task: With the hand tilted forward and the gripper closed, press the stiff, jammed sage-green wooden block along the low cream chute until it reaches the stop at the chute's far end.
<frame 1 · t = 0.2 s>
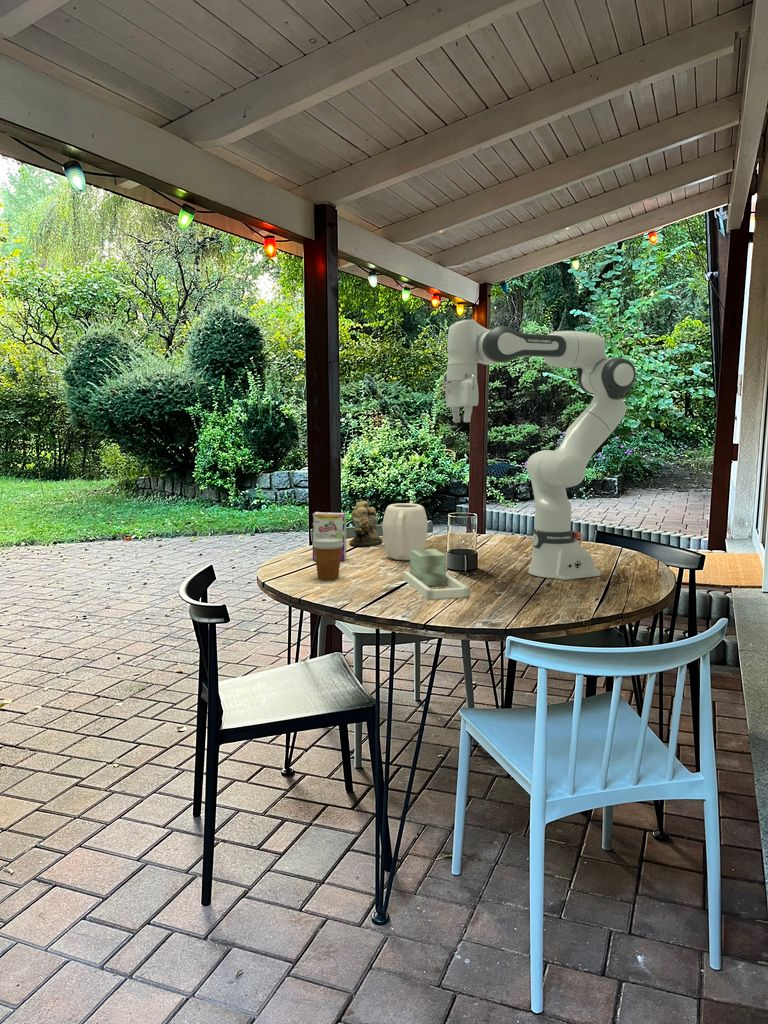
hand: (461, 422, 215), 48 cm above the table, tool pointing down, fingers open, 8 cm apart
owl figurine: (365, 544, 280), on the table
disposable coffee cup: (328, 578, 222), on the table
sage block: (427, 567, 215), point 5 cm above the table, slide at 0.0 cm
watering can: (405, 557, 254), on the table
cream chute: (433, 587, 210), on the table
candy bar box: (329, 560, 249), on the table
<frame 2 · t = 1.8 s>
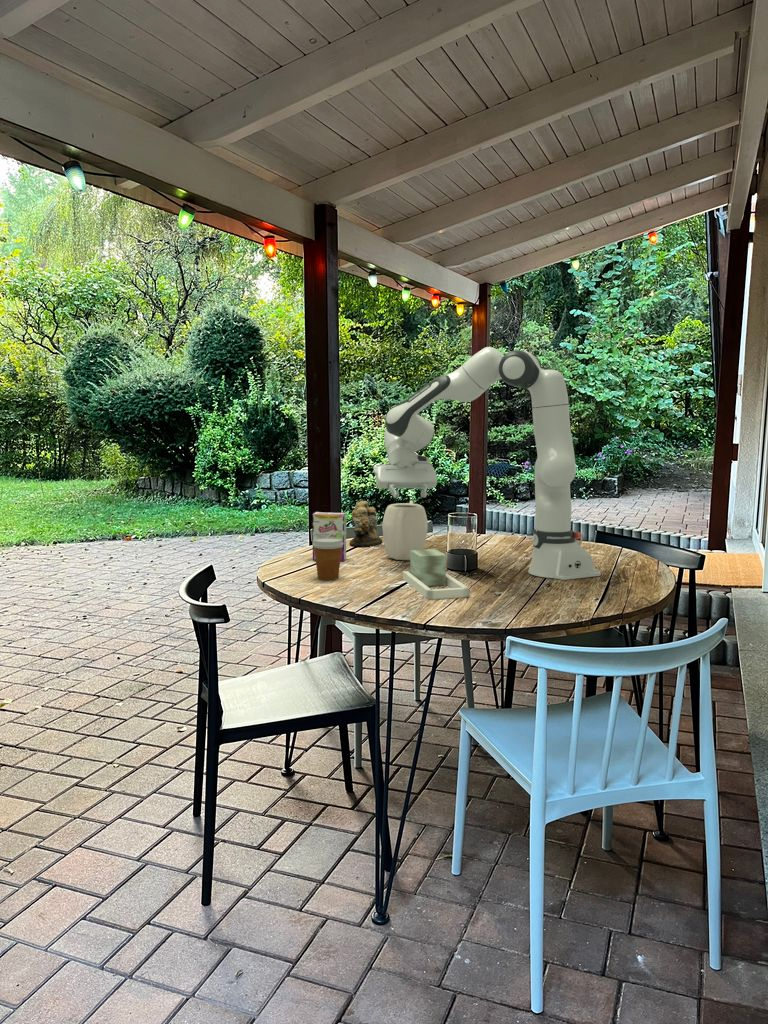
hand: (410, 496, 231), 24 cm above the table, tool tilted 45°, fingers open, 8 cm apart
nothing on the table moved.
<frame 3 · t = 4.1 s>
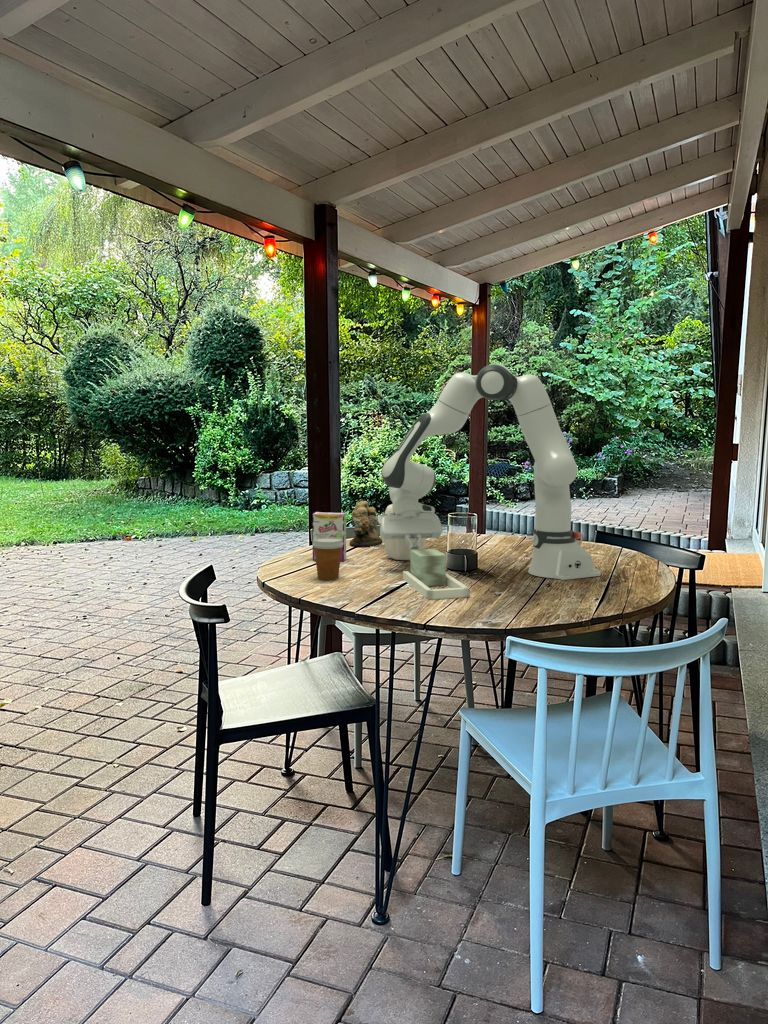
hand: (415, 548, 228), 8 cm above the table, tool tilted 45°, fingers closed
nothing on the table moved.
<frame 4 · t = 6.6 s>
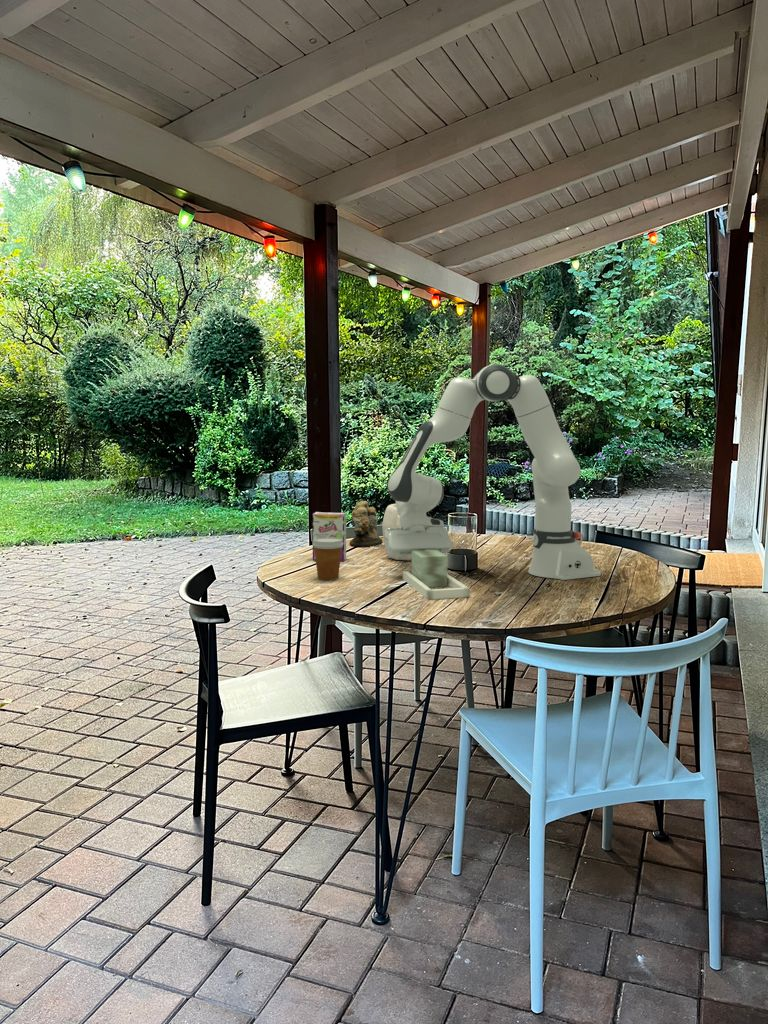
hand: (423, 564, 219), 5 cm above the table, tool tilted 45°, fingers closed, pressing on sage block
sage block: (429, 568, 214), point 5 cm above the table, slide at 1.3 cm, touching gripper
everything else where it was.
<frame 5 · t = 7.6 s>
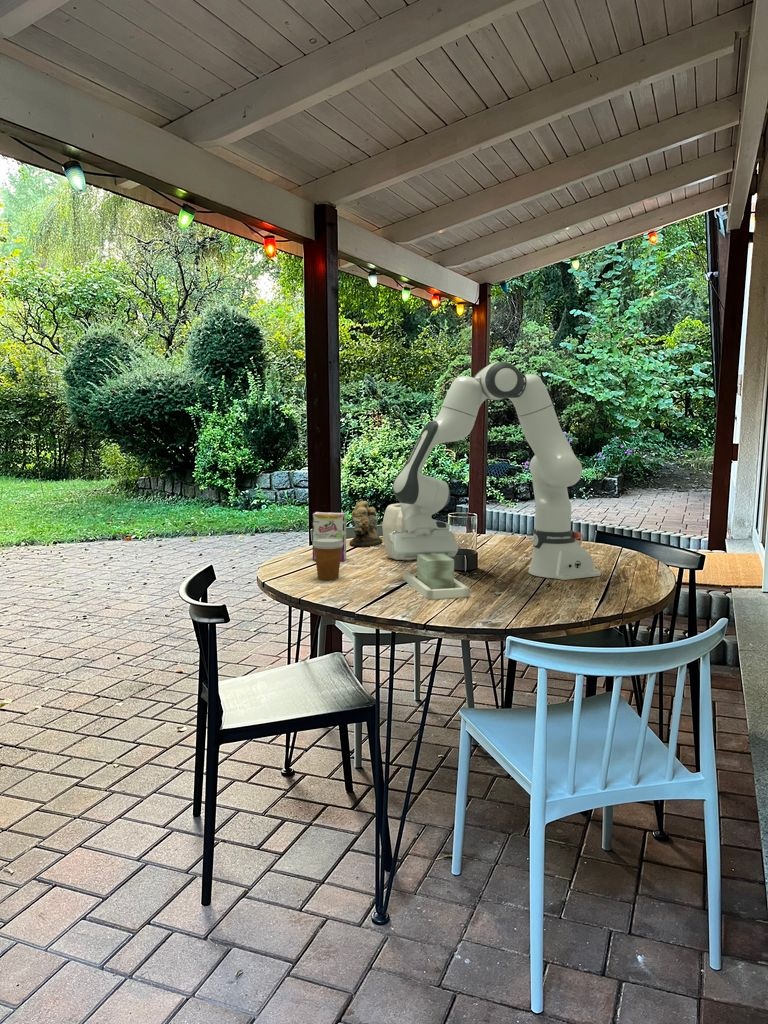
hand: (429, 568, 214), 5 cm above the table, tool tilted 45°, fingers closed, pressing on sage block
sage block: (435, 572, 208), point 5 cm above the table, slide at 7.1 cm, touching gripper
everything else where it was.
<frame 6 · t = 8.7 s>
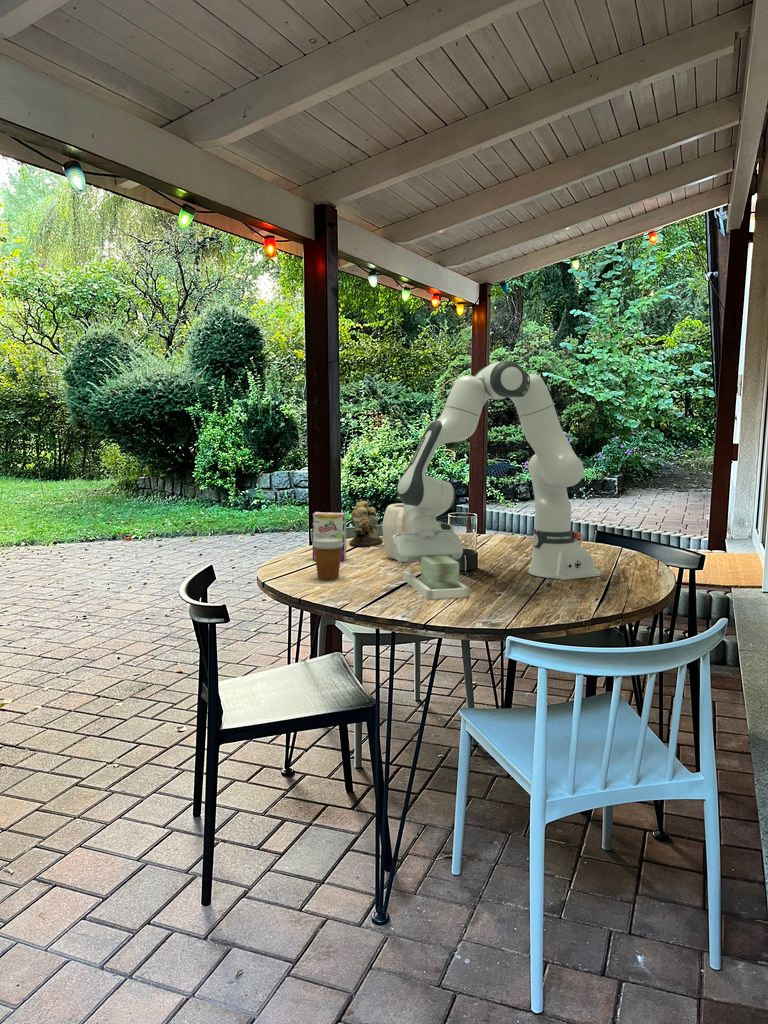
hand: (433, 571, 210), 5 cm above the table, tool tilted 45°, fingers closed, pressing on sage block
sage block: (439, 575, 204), point 5 cm above the table, slide at 11.4 cm, touching gripper
everything else where it was.
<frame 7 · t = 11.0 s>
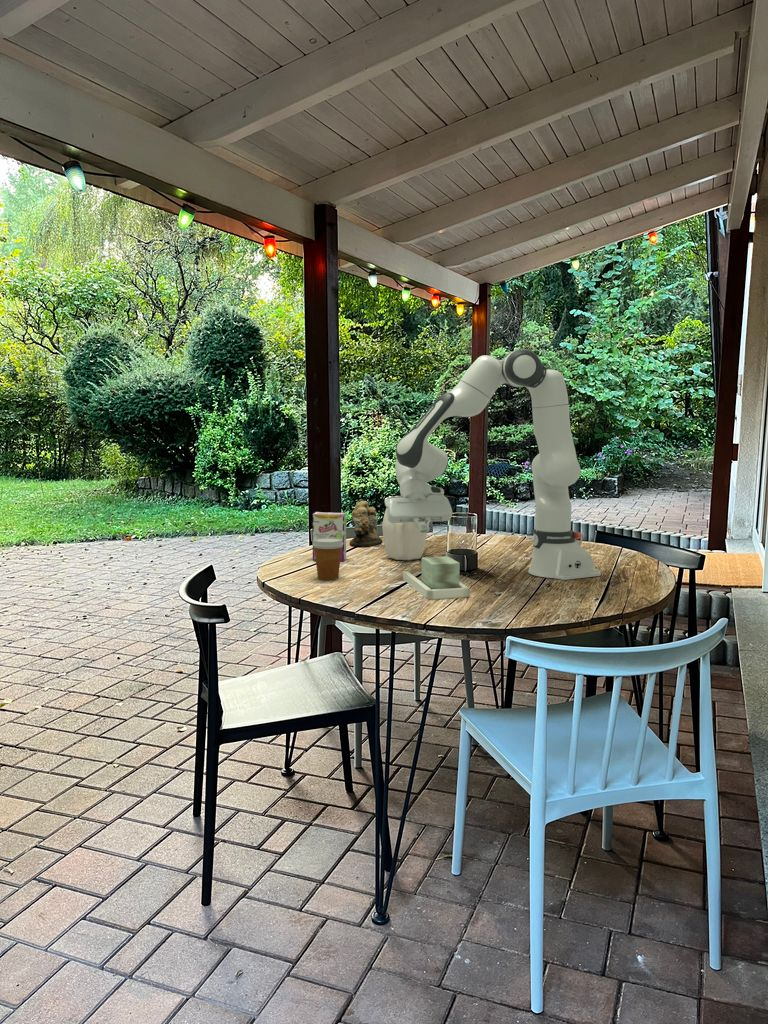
hand: (424, 531, 218), 15 cm above the table, tool tilted 45°, fingers closed
sage block: (440, 575, 204), point 5 cm above the table, slide at 11.7 cm
everything else where it was.
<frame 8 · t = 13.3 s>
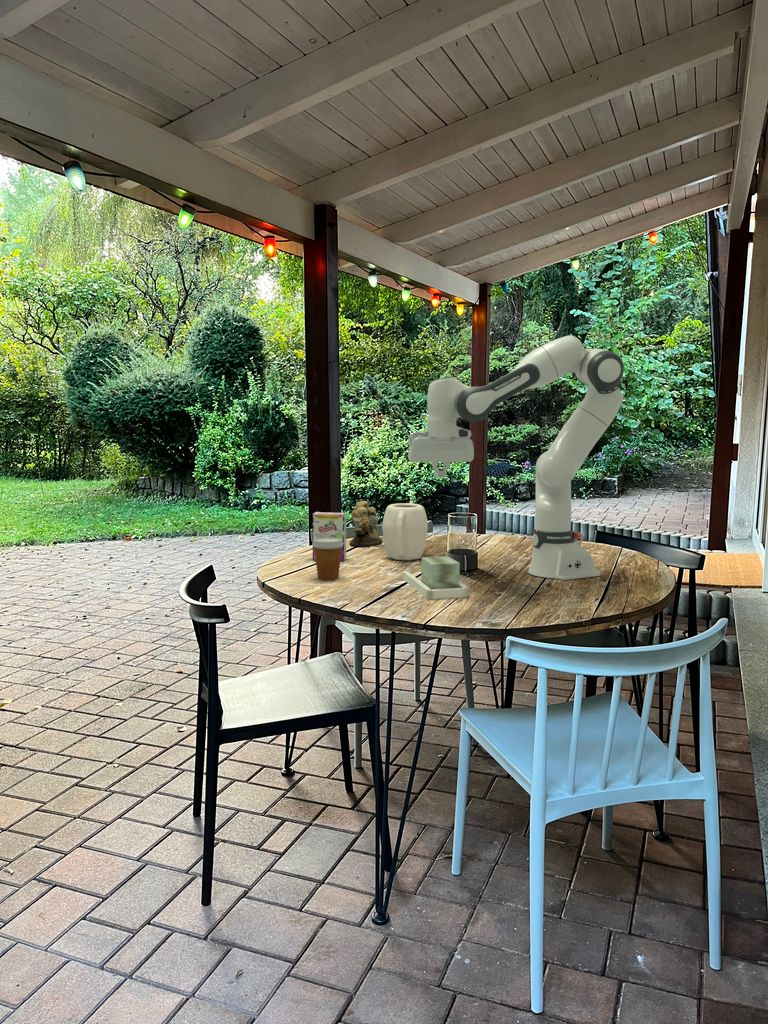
hand: (440, 477, 220), 31 cm above the table, tool pointing down, fingers closed
nothing on the table moved.
at the end: sage block slide at 11.7 cm; the gripper is holding nothing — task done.
